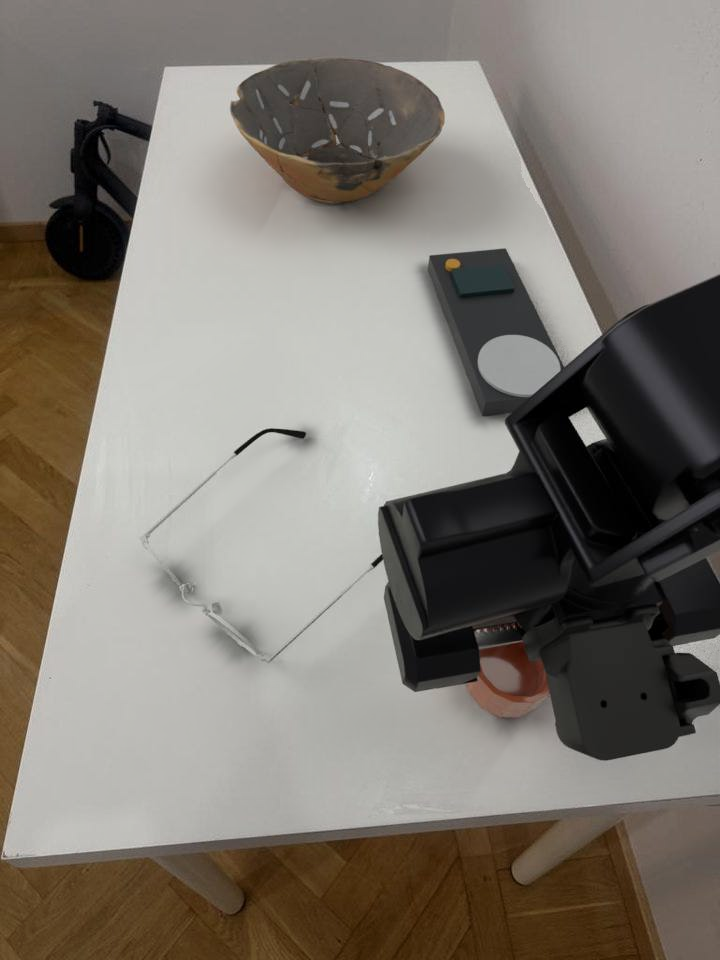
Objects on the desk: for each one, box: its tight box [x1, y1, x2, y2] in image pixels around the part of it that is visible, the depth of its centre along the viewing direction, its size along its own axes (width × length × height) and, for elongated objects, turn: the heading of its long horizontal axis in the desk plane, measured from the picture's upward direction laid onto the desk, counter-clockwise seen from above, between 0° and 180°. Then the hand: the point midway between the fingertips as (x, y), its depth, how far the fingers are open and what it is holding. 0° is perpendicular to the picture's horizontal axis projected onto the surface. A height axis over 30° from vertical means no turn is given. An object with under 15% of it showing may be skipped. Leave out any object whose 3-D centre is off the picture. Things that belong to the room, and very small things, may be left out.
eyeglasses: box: [139, 427, 383, 664], centre depth 51 cm, size 16×19×5 cm
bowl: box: [229, 57, 446, 205], centre depth 78 cm, size 25×25×10 cm
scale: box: [427, 247, 565, 417], centre depth 67 cm, size 22×9×3 cm, turn 10°
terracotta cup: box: [465, 623, 550, 718], centre depth 45 cm, size 6×6×4 cm
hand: (520, 654), depth 43 cm, fingers open, 9 cm apart
